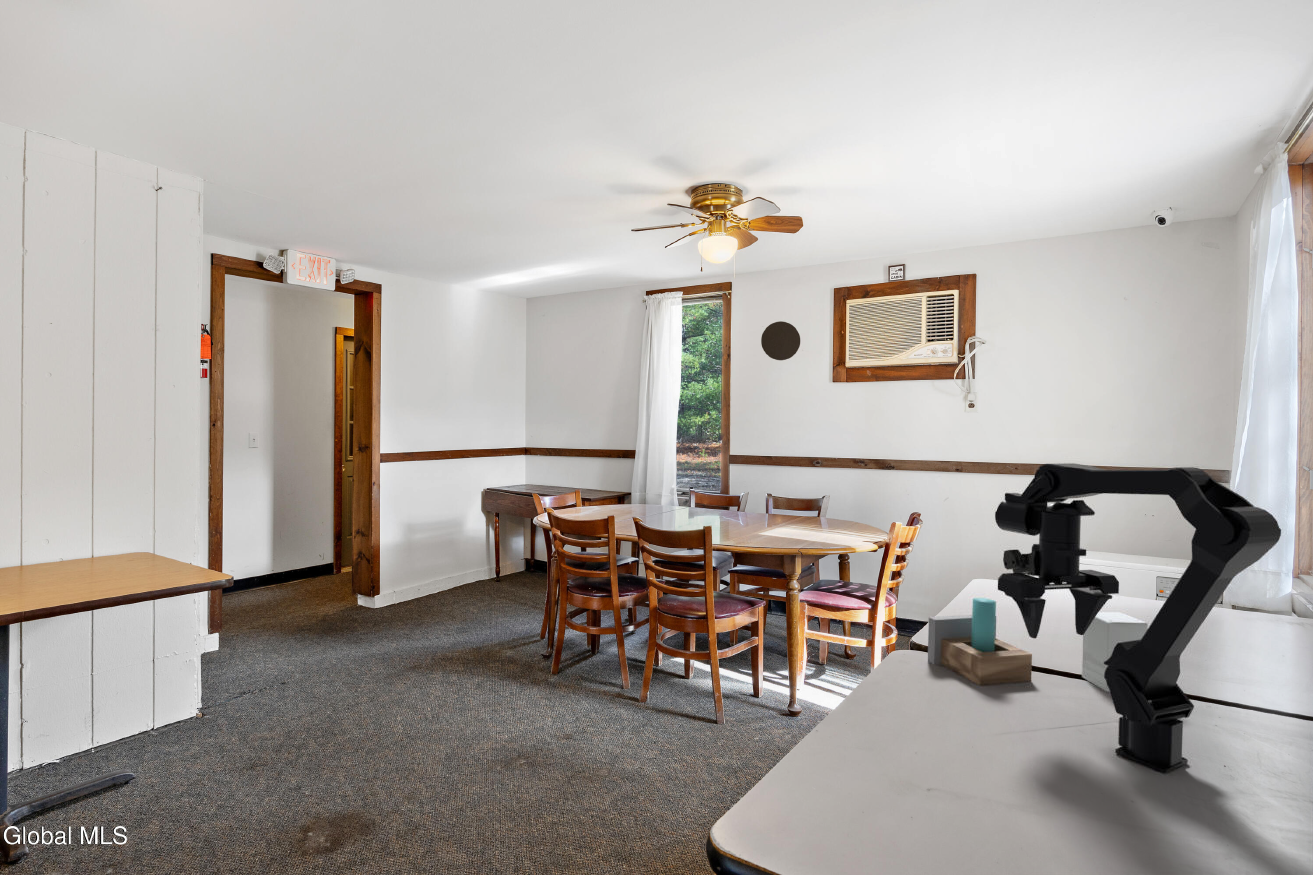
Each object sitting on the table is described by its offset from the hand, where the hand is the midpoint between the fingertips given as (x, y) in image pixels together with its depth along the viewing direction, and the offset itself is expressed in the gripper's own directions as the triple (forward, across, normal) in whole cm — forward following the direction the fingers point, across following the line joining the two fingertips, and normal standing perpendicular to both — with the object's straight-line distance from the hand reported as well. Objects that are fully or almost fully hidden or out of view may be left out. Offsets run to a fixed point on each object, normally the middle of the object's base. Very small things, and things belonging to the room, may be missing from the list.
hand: (1056, 636), depth 110 cm
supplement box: (+13, -21, -9) cm, 27 cm away
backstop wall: (+13, -2, -25) cm, 28 cm away
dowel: (+12, -2, -19) cm, 23 cm away
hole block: (+13, -2, -18) cm, 23 cm away
